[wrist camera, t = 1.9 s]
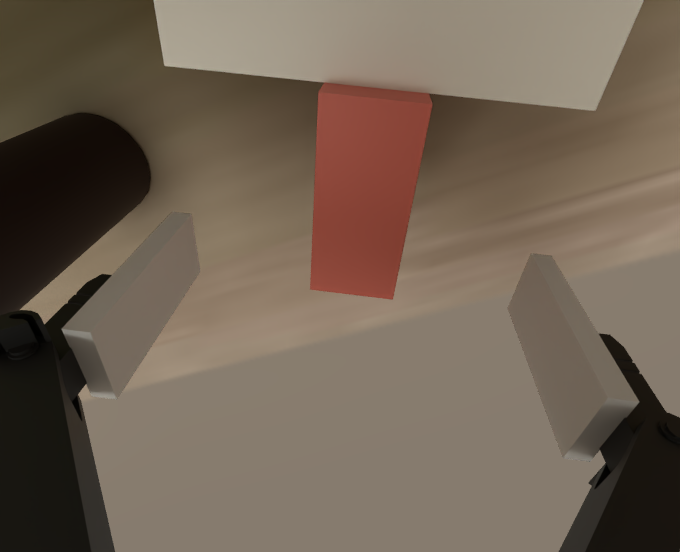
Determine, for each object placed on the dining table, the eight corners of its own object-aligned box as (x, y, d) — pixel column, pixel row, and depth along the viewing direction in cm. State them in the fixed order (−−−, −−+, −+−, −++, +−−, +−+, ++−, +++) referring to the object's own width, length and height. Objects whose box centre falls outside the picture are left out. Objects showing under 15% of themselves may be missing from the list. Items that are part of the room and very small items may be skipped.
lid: (45, -745, 7) (-59, -964, 5) (934, -707, 6) (1115, -933, 5) (201, 248, 19) (183, 274, 17) (511, 285, 18) (523, 315, 17)
